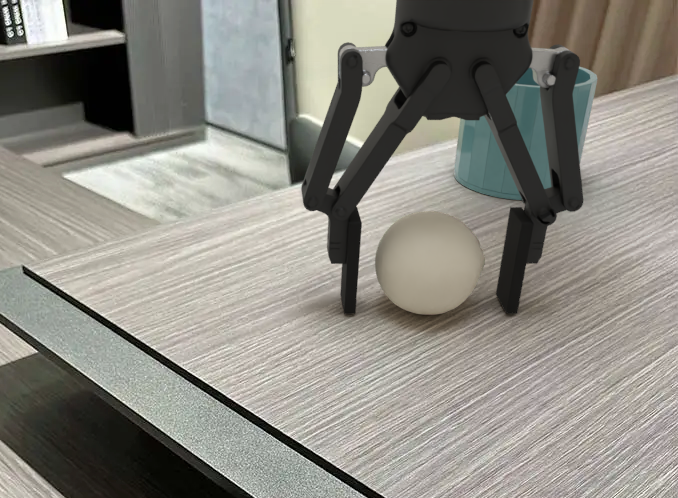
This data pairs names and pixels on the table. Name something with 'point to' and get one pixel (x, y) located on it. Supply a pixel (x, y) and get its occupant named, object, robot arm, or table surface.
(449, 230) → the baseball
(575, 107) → the canister
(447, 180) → the table surface
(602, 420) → the table surface
